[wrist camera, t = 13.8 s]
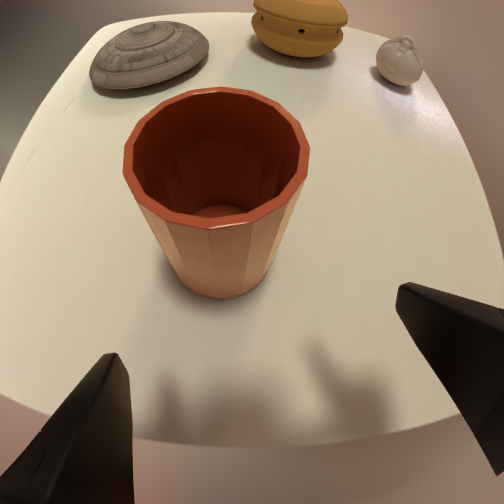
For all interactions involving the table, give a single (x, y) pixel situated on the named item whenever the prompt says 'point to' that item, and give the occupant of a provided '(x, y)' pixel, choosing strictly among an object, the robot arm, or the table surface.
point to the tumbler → (217, 184)
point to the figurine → (400, 61)
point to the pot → (300, 25)
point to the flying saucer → (148, 55)
